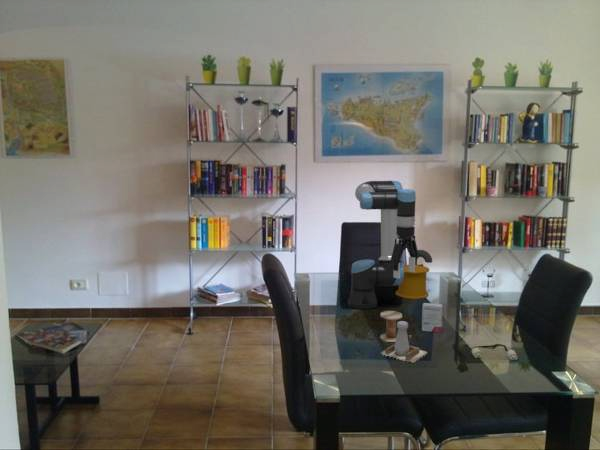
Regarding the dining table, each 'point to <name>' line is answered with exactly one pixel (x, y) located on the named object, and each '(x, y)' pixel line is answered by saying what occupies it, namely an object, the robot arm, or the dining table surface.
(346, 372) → the dining table surface
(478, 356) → the cable
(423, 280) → the spool
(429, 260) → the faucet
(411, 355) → the board
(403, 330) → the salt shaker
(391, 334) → the bobbin
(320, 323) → the dining table surface
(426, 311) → the ink box
